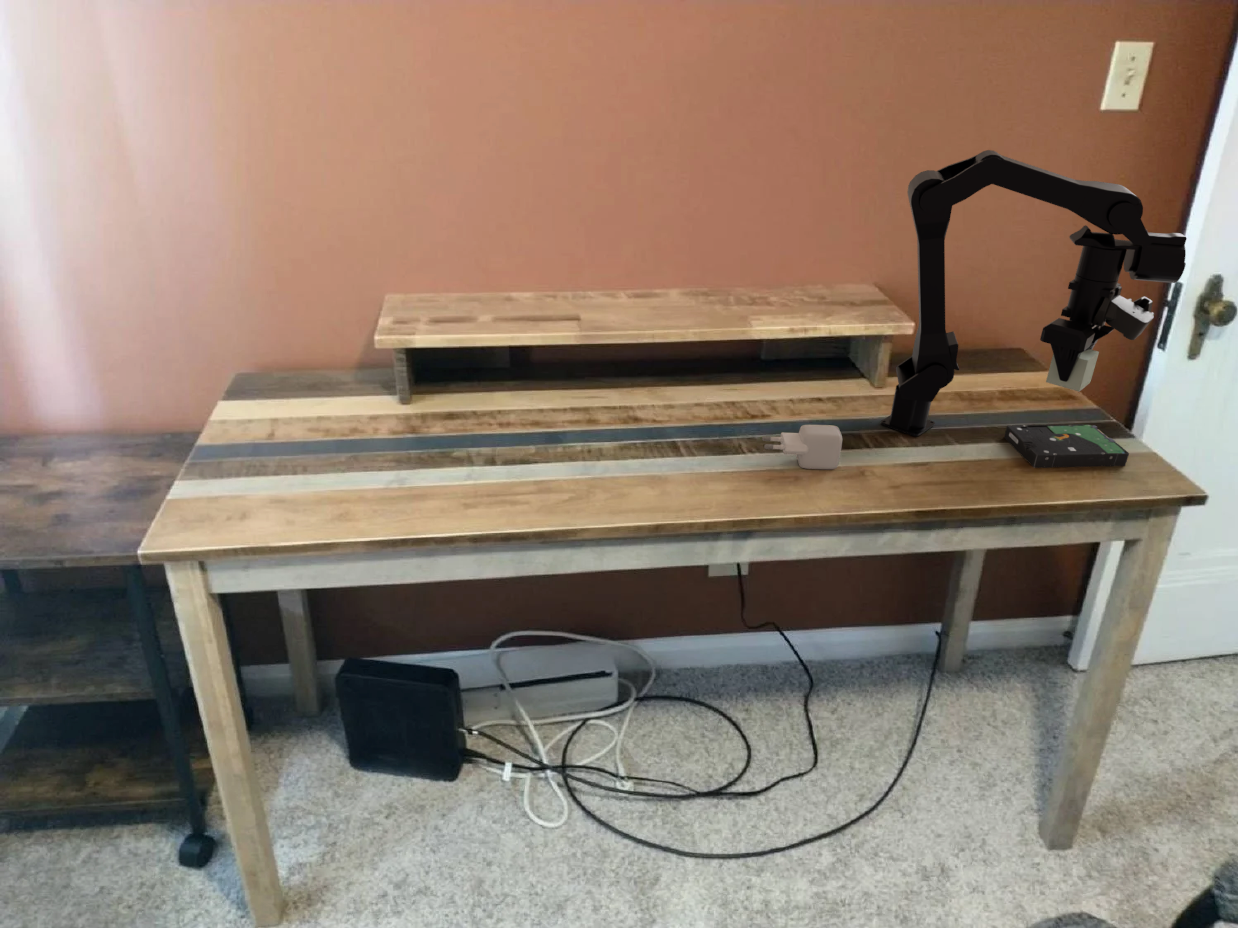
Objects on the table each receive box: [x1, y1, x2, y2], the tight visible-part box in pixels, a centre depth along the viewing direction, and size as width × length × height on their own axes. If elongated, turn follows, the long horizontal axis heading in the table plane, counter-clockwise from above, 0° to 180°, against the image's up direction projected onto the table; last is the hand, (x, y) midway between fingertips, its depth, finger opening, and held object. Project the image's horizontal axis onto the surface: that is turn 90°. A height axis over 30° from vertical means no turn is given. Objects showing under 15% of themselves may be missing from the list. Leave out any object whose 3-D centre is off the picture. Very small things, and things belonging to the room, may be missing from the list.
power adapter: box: [761, 424, 843, 470], centre depth 142 cm, size 11×5×6 cm, turn 90°
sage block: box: [1045, 349, 1100, 393], centre depth 147 cm, size 5×5×5 cm
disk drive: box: [1003, 423, 1130, 469], centre depth 150 cm, size 10×3×15 cm
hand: (1069, 375), depth 148 cm, fingers closed on sage block, 5 cm apart
